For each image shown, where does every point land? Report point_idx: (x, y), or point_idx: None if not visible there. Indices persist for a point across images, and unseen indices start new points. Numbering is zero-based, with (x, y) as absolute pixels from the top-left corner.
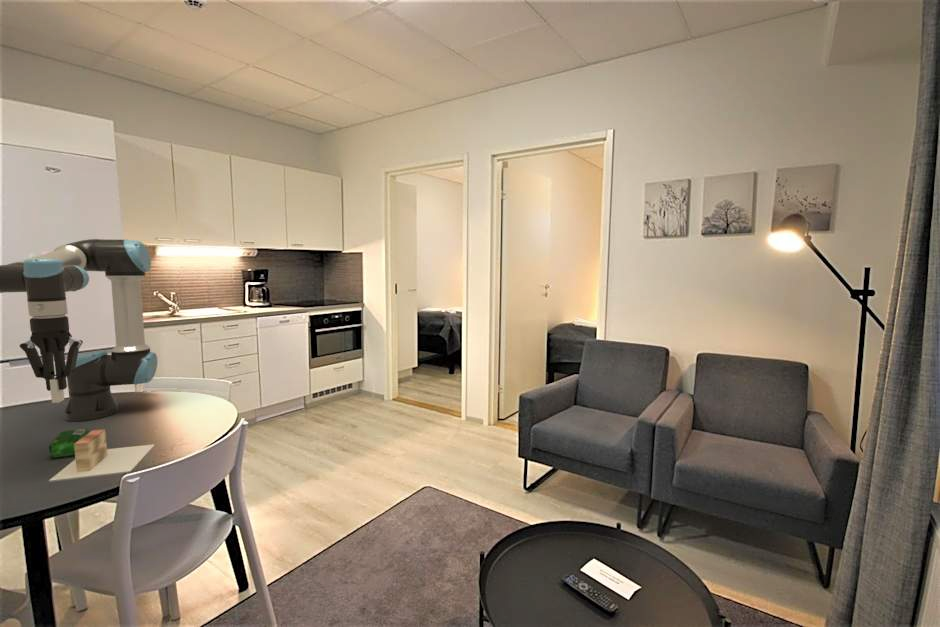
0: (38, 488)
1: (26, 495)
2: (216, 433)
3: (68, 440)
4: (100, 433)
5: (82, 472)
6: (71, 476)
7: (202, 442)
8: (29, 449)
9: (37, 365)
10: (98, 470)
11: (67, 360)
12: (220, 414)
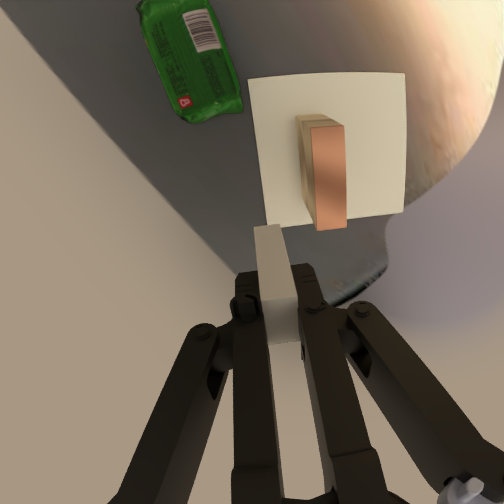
0: None
1: None
2: (494, 49)
3: (216, 96)
4: (344, 154)
5: None
6: (303, 218)
7: (484, 93)
8: (86, 52)
9: (210, 421)
10: None
11: (392, 420)
12: None
